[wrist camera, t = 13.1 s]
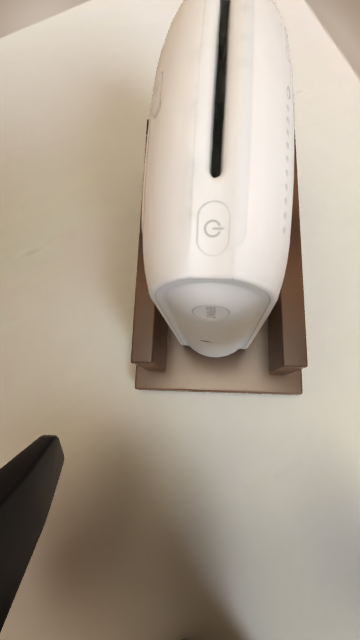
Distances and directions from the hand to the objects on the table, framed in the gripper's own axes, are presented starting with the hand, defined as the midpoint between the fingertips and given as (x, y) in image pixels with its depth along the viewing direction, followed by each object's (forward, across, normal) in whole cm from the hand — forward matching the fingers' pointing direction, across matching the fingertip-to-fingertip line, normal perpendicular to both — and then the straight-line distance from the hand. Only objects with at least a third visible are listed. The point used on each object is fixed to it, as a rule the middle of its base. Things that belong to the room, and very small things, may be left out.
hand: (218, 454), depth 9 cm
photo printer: (+13, 0, 0) cm, 13 cm away
